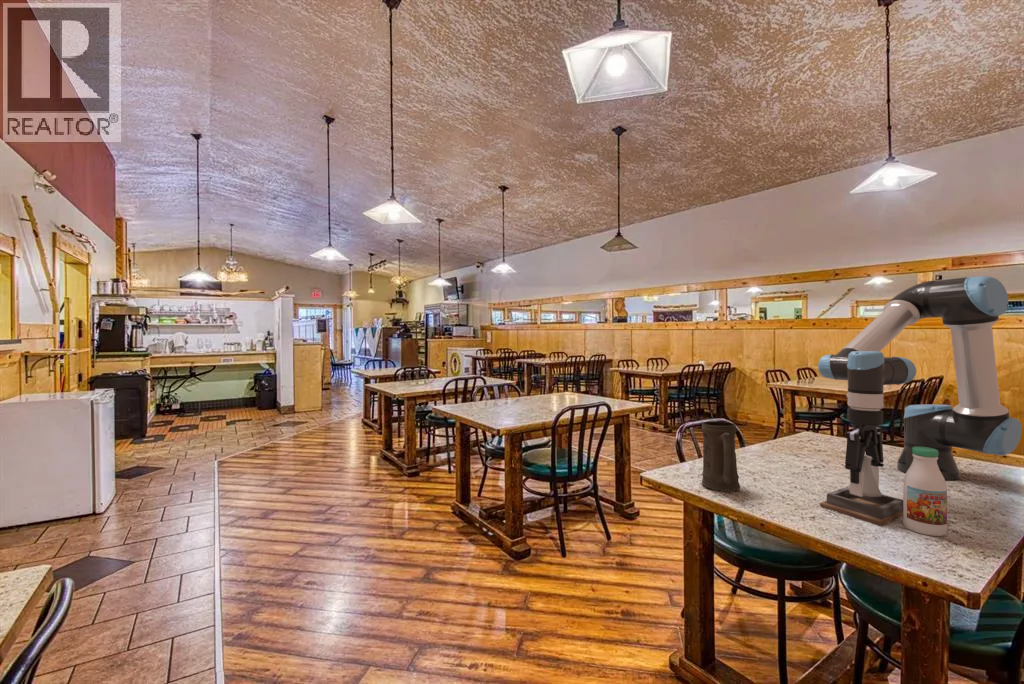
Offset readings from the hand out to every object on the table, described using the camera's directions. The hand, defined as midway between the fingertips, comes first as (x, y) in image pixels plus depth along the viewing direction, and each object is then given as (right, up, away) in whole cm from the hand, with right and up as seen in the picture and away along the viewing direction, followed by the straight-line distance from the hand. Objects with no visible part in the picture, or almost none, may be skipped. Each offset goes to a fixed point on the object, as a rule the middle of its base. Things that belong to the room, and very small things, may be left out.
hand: (864, 492), depth 118 cm
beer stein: (-30, -5, +17) cm, 35 cm away
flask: (0, 0, 0) cm, 0 cm away
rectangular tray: (0, -5, 0) cm, 5 cm away
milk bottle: (+5, -5, -12) cm, 14 cm away
